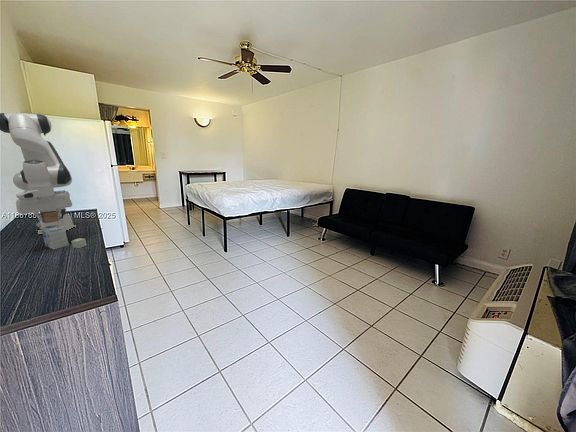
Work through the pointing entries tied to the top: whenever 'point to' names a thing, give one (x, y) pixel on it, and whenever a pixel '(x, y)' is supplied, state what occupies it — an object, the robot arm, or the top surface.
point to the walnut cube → (49, 216)
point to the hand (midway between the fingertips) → (49, 218)
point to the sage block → (79, 243)
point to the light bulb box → (54, 236)
